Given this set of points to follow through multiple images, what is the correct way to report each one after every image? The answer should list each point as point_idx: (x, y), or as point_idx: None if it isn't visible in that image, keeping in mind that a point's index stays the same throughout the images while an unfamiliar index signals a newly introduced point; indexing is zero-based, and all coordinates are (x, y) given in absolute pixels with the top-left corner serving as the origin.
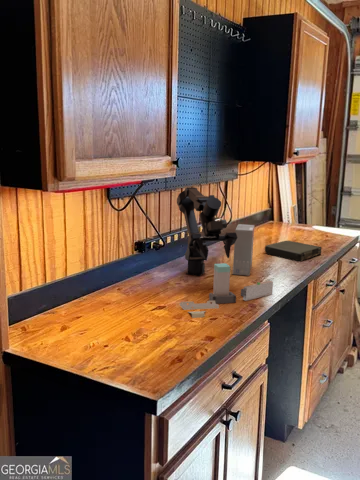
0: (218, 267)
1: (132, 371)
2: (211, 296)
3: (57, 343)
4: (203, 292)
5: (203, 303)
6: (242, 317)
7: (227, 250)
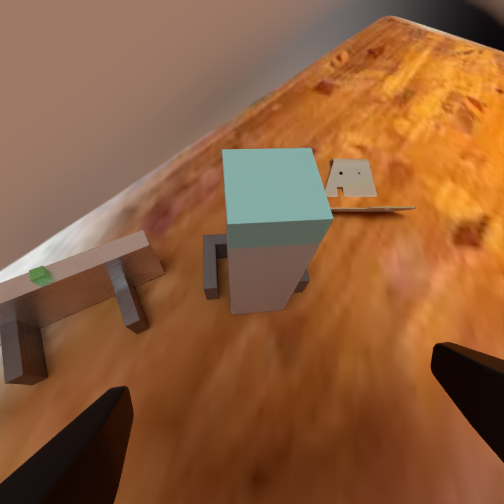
0: (308, 150)
1: (429, 44)
2: None
3: None
4: (319, 395)
5: (334, 208)
6: None
7: (57, 494)
